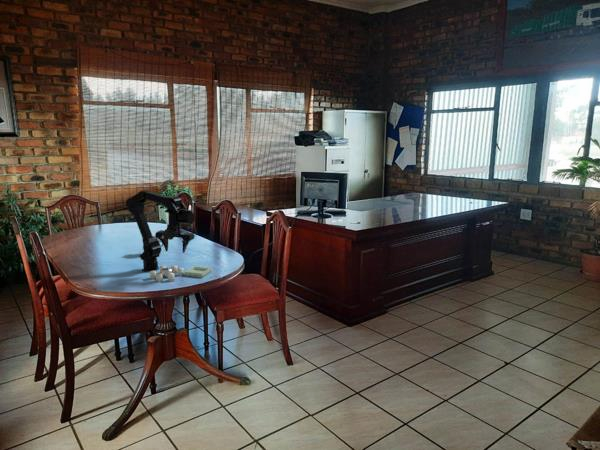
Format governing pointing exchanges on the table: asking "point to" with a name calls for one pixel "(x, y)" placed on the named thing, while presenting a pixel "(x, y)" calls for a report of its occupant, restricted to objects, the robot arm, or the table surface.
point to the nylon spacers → (170, 275)
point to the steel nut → (166, 272)
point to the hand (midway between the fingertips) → (175, 251)
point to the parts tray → (198, 272)
